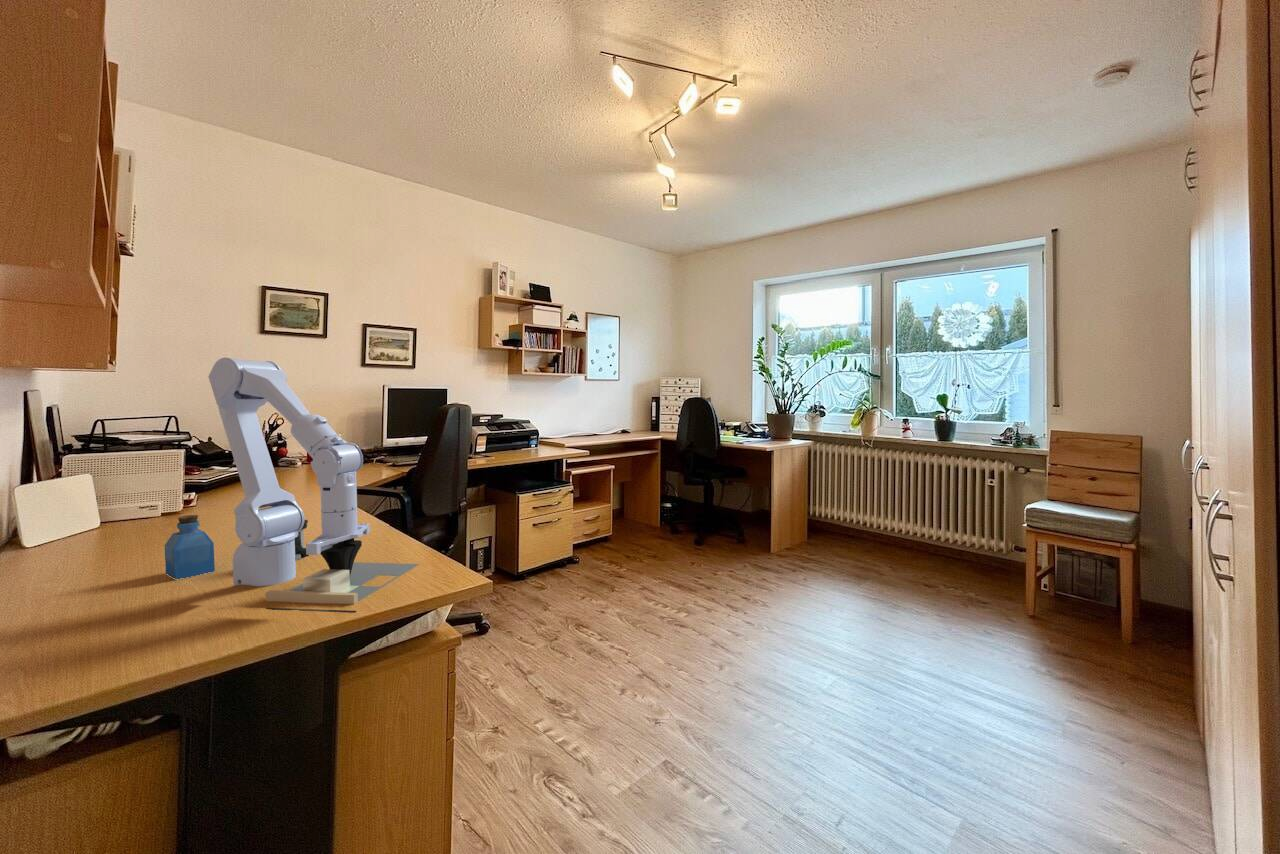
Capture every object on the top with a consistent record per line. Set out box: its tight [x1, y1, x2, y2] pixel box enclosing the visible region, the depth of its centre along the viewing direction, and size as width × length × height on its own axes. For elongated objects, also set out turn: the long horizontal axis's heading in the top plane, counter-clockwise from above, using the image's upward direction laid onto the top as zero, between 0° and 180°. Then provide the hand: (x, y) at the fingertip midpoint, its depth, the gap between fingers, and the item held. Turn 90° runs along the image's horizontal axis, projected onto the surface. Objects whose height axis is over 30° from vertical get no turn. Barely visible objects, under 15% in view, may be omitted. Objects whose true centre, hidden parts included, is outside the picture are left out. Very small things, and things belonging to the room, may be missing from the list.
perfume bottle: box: [164, 514, 216, 580], centre depth 104 cm, size 6×6×12 cm
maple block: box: [302, 568, 350, 593], centre depth 89 cm, size 5×5×4 cm
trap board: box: [265, 561, 420, 614], centre depth 95 cm, size 16×21×3 cm
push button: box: [294, 519, 310, 562], centre depth 110 cm, size 7×5×10 cm
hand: (341, 581), depth 93 cm, fingers closed
